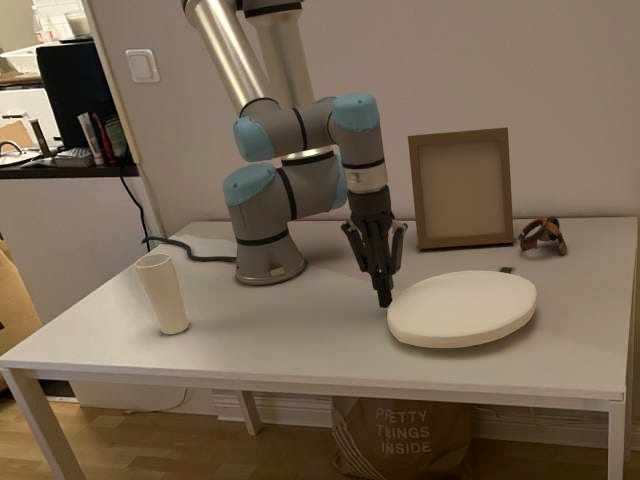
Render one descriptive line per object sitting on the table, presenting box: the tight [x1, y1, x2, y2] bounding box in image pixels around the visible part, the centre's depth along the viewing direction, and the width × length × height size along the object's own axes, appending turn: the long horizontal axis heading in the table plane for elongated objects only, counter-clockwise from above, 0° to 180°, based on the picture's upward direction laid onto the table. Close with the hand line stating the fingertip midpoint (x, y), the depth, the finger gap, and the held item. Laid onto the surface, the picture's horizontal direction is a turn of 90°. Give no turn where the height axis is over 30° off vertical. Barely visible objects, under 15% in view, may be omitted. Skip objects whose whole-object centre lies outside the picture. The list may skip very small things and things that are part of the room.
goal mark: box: [499, 266, 513, 274], centre depth 149 cm, size 2×8×1 cm, turn 158°
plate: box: [386, 269, 538, 349], centre depth 133 cm, size 28×6×27 cm
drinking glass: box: [134, 252, 189, 335], centre depth 139 cm, size 7×7×15 cm
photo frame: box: [407, 126, 515, 250], centre depth 163 cm, size 15×22×25 cm
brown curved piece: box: [517, 215, 568, 256], centre depth 158 cm, size 12×10×8 cm
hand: (386, 304), depth 139 cm, fingers closed
